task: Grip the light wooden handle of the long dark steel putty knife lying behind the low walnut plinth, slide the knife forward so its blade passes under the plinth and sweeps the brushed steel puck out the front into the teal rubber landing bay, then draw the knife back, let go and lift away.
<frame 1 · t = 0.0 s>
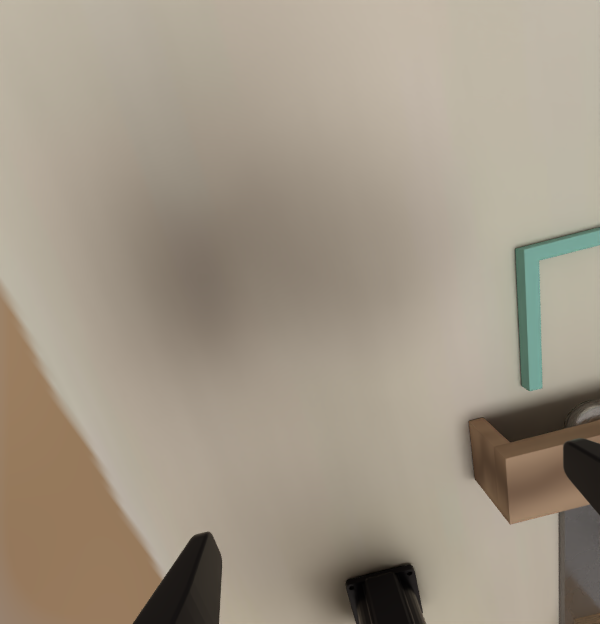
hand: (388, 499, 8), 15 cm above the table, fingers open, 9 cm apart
putty knife: (580, 615, 33), on the table
steel puck: (585, 419, 26), on the table
landing bay: (590, 309, 23), on the table
walnut plinth: (588, 421, 26), on the table
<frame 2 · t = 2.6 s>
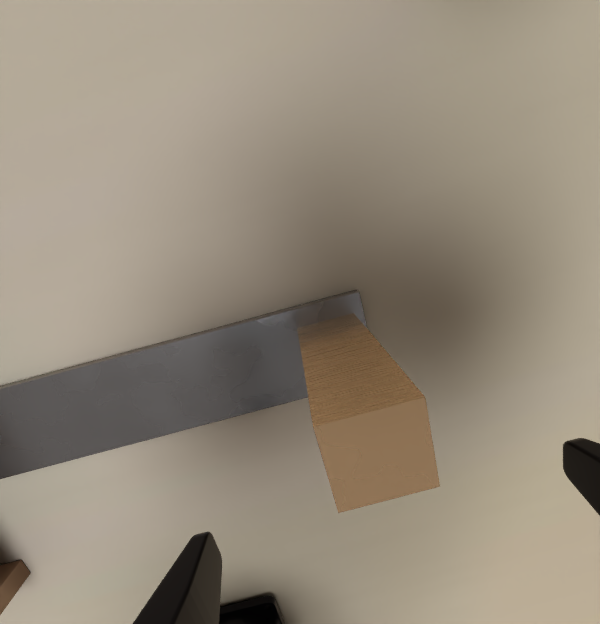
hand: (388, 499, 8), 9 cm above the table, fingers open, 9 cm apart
putty knife: (329, 341, 17), on the table
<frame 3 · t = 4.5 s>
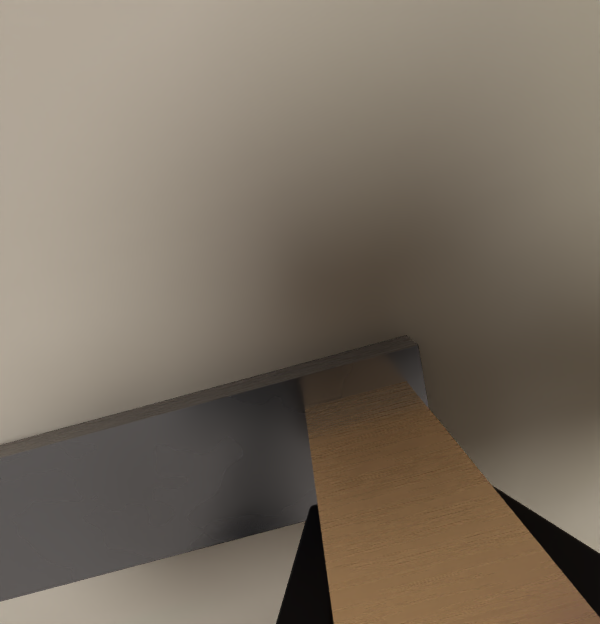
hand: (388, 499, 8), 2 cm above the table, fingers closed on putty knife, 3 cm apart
putty knife: (359, 421, 10), on the table, touching gripper
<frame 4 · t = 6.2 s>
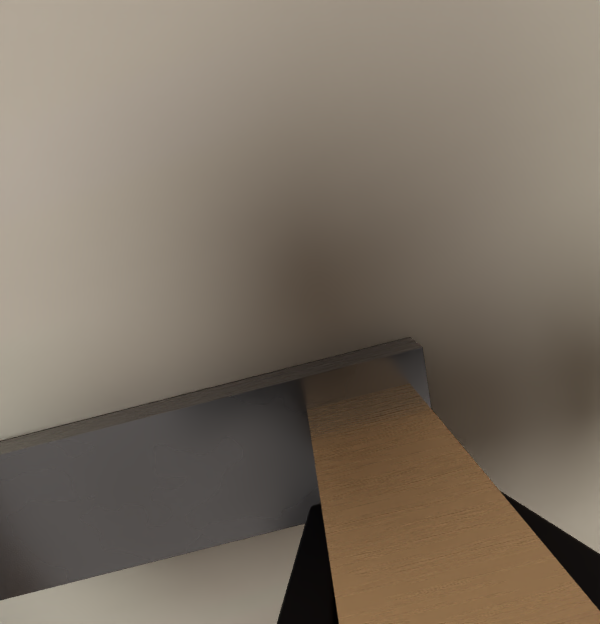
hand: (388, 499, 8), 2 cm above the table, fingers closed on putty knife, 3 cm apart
putty knife: (360, 423, 10), on the table, touching gripper, steel puck
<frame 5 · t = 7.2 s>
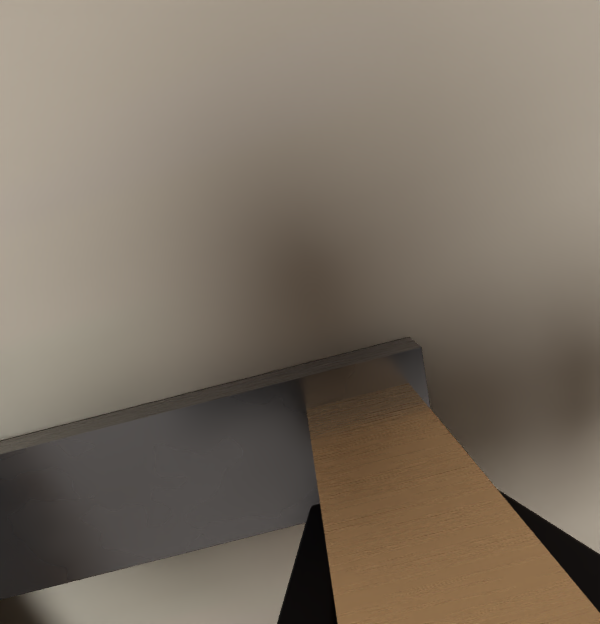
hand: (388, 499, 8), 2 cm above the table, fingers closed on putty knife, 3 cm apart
putty knife: (360, 422, 10), on the table, touching gripper
when the fingers open (3 cm above the table, at t = 8.9 s): putty knife stays where it is, on the table.
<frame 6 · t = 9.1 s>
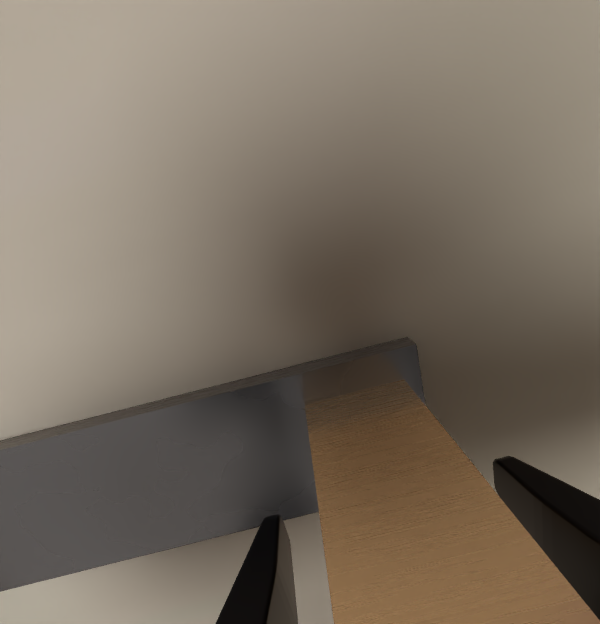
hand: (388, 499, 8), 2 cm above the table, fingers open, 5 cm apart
putty knife: (357, 418, 10), on the table
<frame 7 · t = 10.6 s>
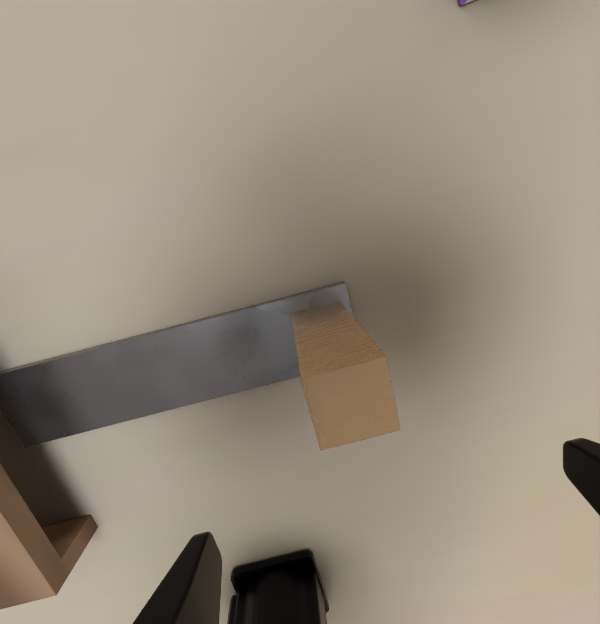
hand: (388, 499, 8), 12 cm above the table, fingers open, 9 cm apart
putty knife: (320, 327, 19), on the table
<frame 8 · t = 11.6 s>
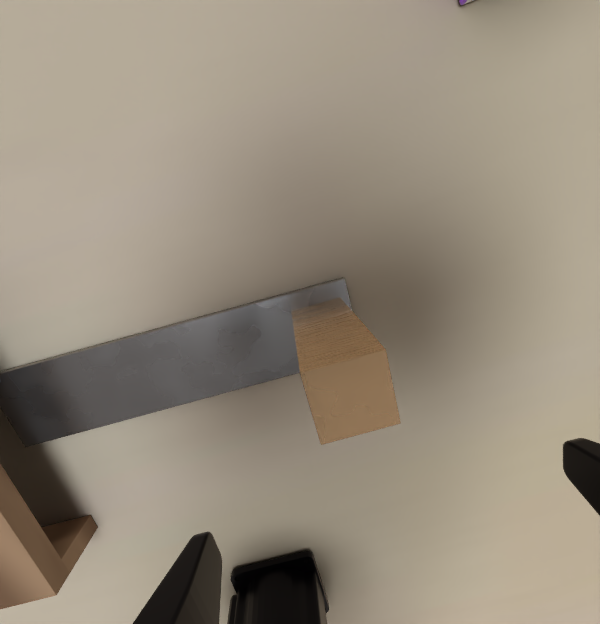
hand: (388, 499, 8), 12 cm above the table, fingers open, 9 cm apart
putty knife: (320, 323, 19), on the table
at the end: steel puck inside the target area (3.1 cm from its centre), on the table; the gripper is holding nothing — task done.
